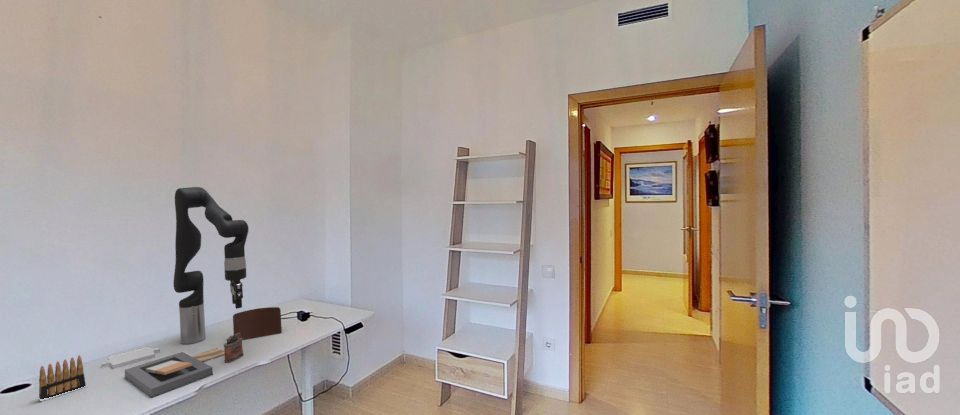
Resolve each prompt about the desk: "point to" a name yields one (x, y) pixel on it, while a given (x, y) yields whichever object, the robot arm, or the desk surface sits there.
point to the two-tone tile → (168, 367)
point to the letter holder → (257, 322)
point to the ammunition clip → (65, 384)
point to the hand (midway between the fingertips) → (237, 305)
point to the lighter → (233, 348)
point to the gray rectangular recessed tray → (167, 375)
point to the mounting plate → (130, 357)
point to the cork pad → (209, 355)
